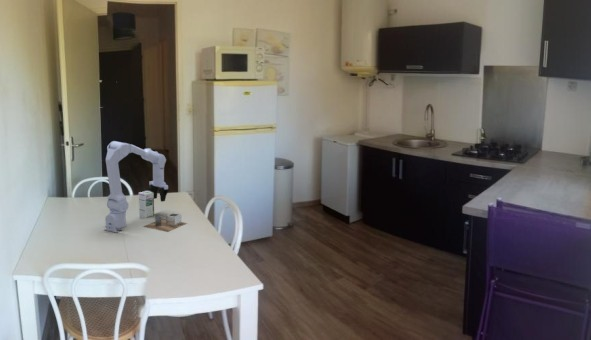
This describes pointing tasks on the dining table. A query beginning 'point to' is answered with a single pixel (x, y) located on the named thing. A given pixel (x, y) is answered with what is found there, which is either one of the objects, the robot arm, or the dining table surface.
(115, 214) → the robot arm
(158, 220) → the dark grey block
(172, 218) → the cube with square recess
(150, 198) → the syrup box
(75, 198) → the dining table surface
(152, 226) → the board
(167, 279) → the dining table surface
